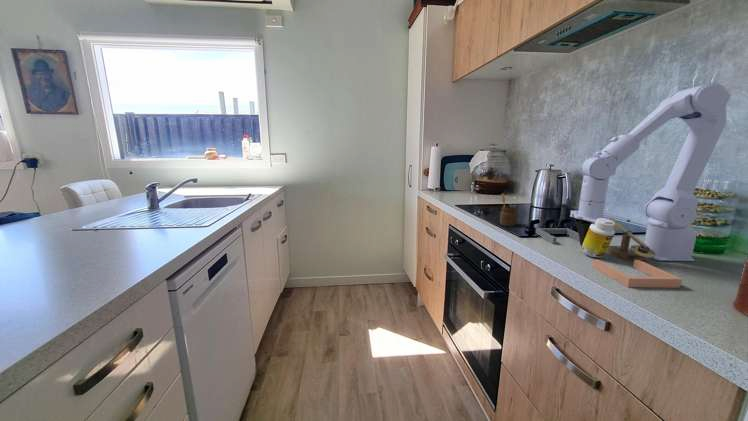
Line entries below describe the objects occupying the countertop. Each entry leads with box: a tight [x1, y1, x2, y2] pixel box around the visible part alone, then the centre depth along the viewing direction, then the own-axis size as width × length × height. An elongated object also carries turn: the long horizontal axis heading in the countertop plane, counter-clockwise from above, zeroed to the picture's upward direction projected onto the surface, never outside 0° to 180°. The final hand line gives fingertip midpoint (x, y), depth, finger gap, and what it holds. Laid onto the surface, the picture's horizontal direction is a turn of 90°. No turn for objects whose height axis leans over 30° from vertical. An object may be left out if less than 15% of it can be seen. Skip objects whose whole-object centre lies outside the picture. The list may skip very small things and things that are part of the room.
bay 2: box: [591, 258, 683, 289], centre depth 68 cm, size 11×11×2 cm
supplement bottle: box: [580, 217, 616, 259], centre depth 79 cm, size 6×6×10 cm
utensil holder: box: [499, 192, 518, 227], centre depth 114 cm, size 6×6×12 cm
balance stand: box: [606, 234, 648, 261], centre depth 81 cm, size 6×8×6 cm
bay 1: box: [534, 227, 580, 245], centre depth 96 cm, size 11×11×2 cm
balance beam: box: [608, 217, 655, 259], centre depth 81 cm, size 5×18×2 cm, turn 178°
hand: (585, 246), depth 84 cm, fingers closed
